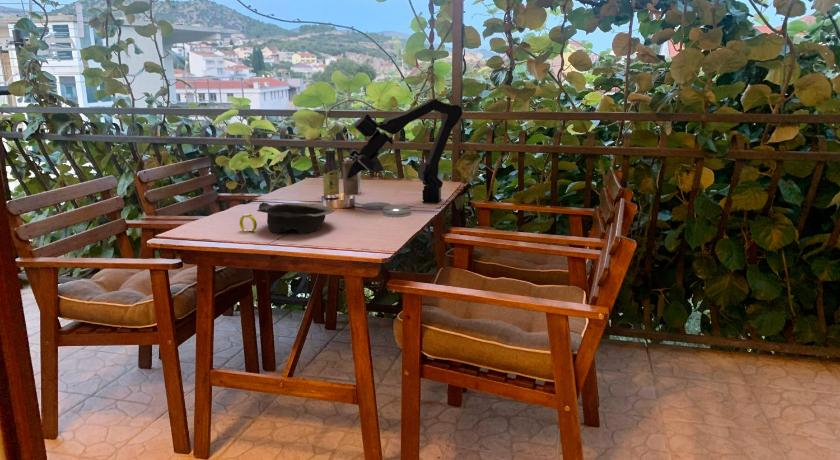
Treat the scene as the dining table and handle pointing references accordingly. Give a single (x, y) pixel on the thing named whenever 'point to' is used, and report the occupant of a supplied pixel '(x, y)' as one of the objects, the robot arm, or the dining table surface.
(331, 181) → the sauce bottle
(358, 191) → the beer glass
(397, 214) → the round metal lid
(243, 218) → the watch
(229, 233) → the dining table surface
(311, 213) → the stone bowl
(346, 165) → the pepper mill
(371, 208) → the coaster
